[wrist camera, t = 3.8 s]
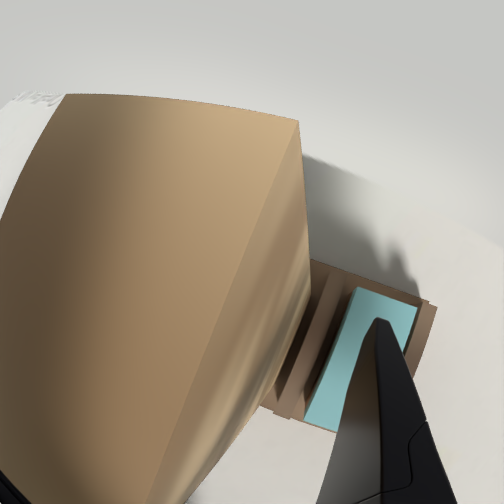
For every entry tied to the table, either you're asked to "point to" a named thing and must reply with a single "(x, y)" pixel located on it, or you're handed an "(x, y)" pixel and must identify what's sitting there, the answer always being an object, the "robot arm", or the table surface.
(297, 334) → the rack
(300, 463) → the table surface
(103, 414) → the oak board
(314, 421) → the offcut upper
